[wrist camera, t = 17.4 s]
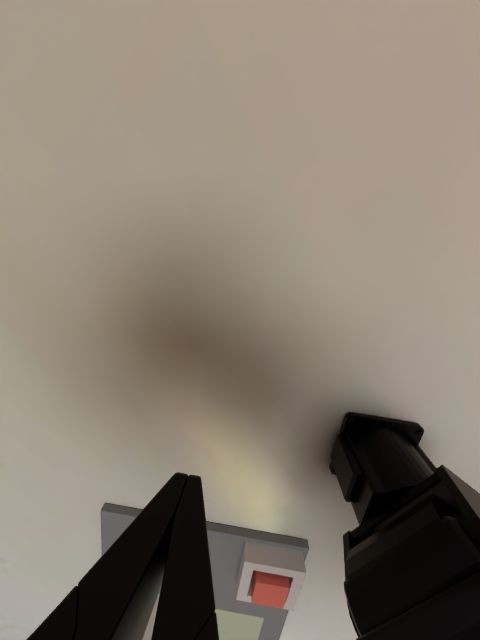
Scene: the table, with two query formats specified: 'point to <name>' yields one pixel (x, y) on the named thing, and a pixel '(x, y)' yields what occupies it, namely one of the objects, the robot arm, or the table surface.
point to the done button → (269, 589)
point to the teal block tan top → (151, 622)
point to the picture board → (235, 572)
